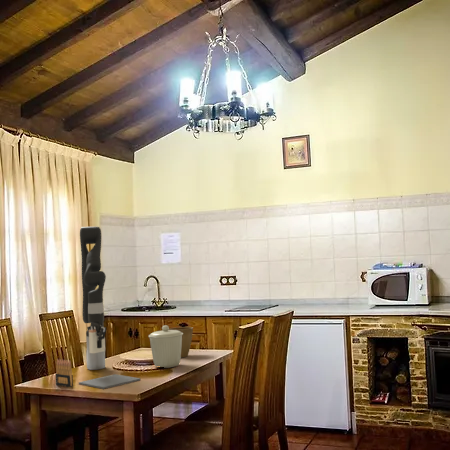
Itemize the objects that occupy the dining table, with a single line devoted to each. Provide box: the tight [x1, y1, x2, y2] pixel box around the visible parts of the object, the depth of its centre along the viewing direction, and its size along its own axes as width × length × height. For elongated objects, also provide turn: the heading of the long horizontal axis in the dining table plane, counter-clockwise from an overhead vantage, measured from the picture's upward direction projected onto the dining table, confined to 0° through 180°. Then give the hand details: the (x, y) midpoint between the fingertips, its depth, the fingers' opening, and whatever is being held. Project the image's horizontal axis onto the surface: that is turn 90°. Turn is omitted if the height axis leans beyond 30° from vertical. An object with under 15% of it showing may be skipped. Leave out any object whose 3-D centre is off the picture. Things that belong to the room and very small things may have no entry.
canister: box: [148, 324, 183, 369], centre depth 286 cm, size 18×18×21 cm
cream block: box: [89, 330, 106, 353], centre depth 268 cm, size 3×7×11 cm, turn 136°
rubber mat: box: [78, 373, 141, 390], centre depth 254 cm, size 20×20×1 cm
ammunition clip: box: [55, 358, 74, 388], centre depth 252 cm, size 11×2×12 cm, turn 52°
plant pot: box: [169, 326, 194, 358], centre depth 314 cm, size 15×15×16 cm
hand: (97, 347), depth 268 cm, fingers closed on cream block, 3 cm apart
